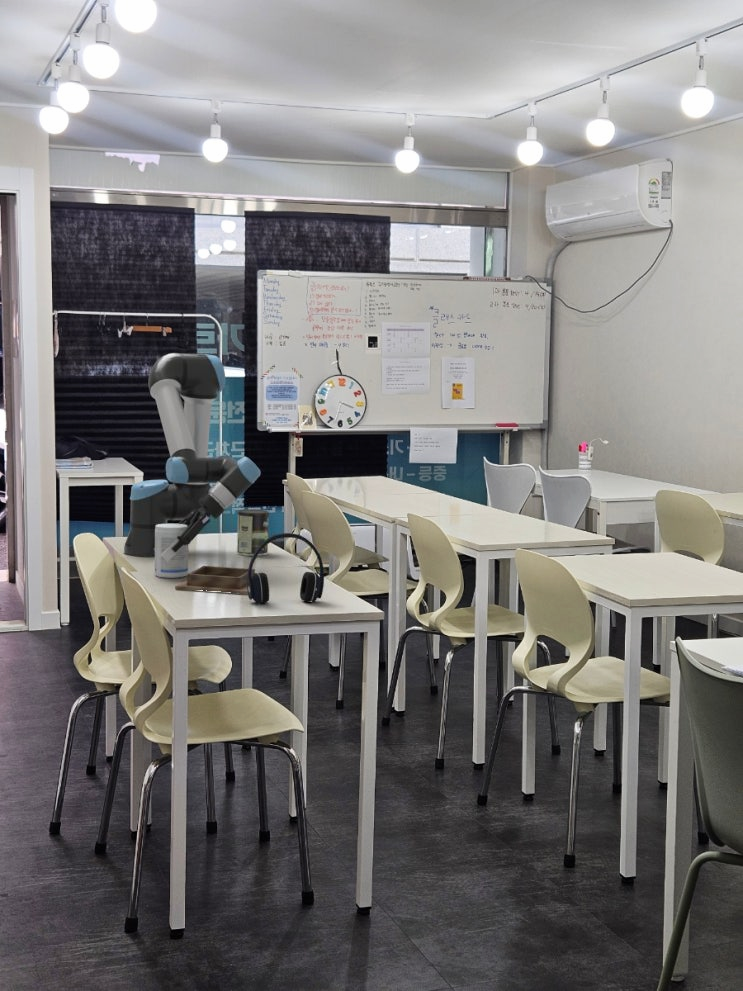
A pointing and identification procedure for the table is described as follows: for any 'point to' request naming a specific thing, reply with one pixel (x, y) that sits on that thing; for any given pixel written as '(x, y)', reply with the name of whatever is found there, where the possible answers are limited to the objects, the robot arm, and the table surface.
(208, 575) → the tray
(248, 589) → the headphones
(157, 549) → the supplement tub
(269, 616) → the table surface
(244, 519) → the coffee can
